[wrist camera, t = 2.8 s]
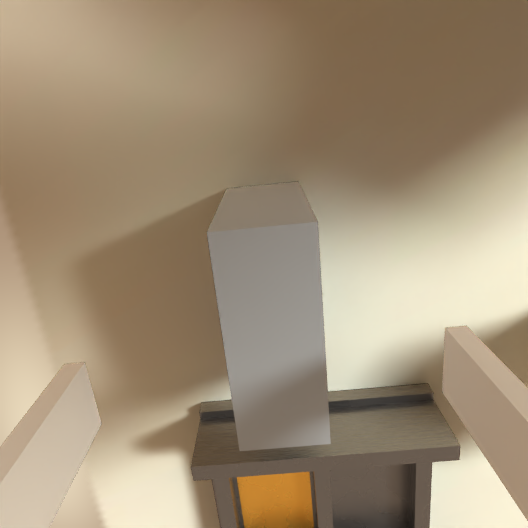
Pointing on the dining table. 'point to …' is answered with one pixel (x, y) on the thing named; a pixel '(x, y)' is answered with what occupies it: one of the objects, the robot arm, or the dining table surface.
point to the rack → (331, 464)
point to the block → (271, 315)
